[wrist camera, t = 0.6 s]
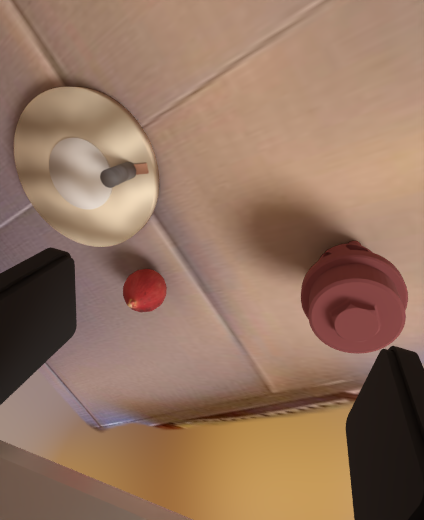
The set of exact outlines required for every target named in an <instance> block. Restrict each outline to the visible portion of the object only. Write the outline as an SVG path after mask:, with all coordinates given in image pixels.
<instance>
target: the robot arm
mask: <svg viewBox="0 0 424 520" xmlns="http://www.w3.org/2000/svg"><path fill="white" fill-rule="evenodd" d="M75 330H76V295H75V265H74V260H73V259H72V258H71V256H70V254H69V253H68V252H65V251H62V250H58V249H55V248H47V249H45V250H44V251H42V252H40V253H38V254H36V255H34V256H32V257H30V258H29V259H27V260H25V261H23V262H21V263H19V264H17V265H16V266H14V267H12V268H10V269H8V270H6V271H4V272H2V273H1V274H0V405H1V404H2V403H3V402H4V401H5V400H6V399H7V398H8V397H9V396H10V395H11V394H12V393H13V392H14V391H16V390H17V389H18V388H19V387H20V386H21V385H22V384H23V383H24V382H25V381H26V380H27V379H28V378H29V377H30V376H31V375H32V374H33V373H34V372H35V371H37V370H38V369H39V368H40V367H41V366H42V365H43V364H44V363H45V362H46V361H47V360H48V359H49V358H50V357H51V356H52V355H53V354H54V353H55V352H56V351H58V350H59V349H60V348H61V347H62V346H63V345H64V344H65V343H66V342H67V341H68V340H69V339H70V338H71V337H72V336H73V334H74V333H75ZM346 436H347V446H348V457H349V467H350V477H351V488H352V498H353V508H354V518H355V520H424V368H423V366H422V363H421V361H420V359H419V356H418V354H417V353H415V352H413V351H409V350H406V349H402V348H399V347H395V346H391V347H390V348H389V349H388V350H386V349H382V350H381V351H380V353H379V355H378V357H377V359H376V361H375V363H374V365H373V367H372V369H371V371H370V373H369V375H368V377H367V379H366V381H365V383H364V385H363V387H362V389H361V391H360V393H359V395H358V397H357V399H356V401H355V403H354V405H353V407H352V409H351V411H350V413H349V415H348V417H347V421H346ZM0 520H192V519H190V518H188V517H185V516H183V515H180V514H178V513H176V512H173V511H171V510H168V509H166V508H164V507H161V506H159V505H156V504H154V503H152V502H149V501H147V500H144V499H142V498H140V497H137V496H135V495H132V494H130V493H127V492H125V491H122V490H120V489H118V488H115V487H113V486H111V485H108V484H106V483H103V482H101V481H99V480H96V479H93V478H91V477H89V476H86V475H84V474H82V473H79V472H77V471H74V470H72V469H69V468H67V467H65V466H62V465H60V464H57V463H55V462H52V461H50V460H48V459H45V458H43V457H40V456H38V455H35V454H33V453H30V452H28V451H25V450H23V449H21V448H18V447H16V446H13V445H11V444H8V443H6V442H3V441H1V440H0Z"/></svg>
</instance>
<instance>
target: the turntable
mask: <svg viewBox="0 0 424 520" xmlns="http://www.w3.org/2000/svg"><path fill="white" fill-rule="evenodd" d="M14 157H15V164H16V169H17V173H18V176H19V179H20V182H21V184H22V187H23V189H24V191H25V193H26V195H27V197H28V199H29V200H30V202H31V203H32V205H33V206H34V208H35V209H36V210H37V212H38V213H39V214H40V216H41V217H42V218H43V219H44V220H45V221H46V222H47V223H48V224H49V225H51V226H52V227H53V228H54V229H55V230H57V231H58V232H59V233H61V234H62V235H64V236H66V237H67V238H69V239H71V240H74V241H76V242H78V243H81V244H85V245H89V246H96V247H106V246H112V245H116V244H119V243H122V242H124V241H126V240H127V239H129V238H131V237H132V236H133V235H135V234H136V233H137V232H138V231H140V230H141V229H142V228H143V227H144V226H145V224H146V223H147V222H148V221H149V219H150V217H151V216H152V214H153V211H154V209H155V206H156V203H157V199H158V193H159V172H158V165H157V161H156V157H155V154H154V151H153V148H152V146H151V143H150V141H149V139H148V137H147V135H146V133H145V132H144V130H143V129H142V127H141V126H140V124H139V123H138V122H137V120H136V119H135V118H134V117H133V116H132V114H131V113H130V112H129V111H128V110H127V109H125V108H124V107H123V106H122V105H121V104H119V103H118V102H117V101H115V100H114V99H112V98H111V97H109V96H107V95H105V94H103V93H101V92H98V91H96V90H92V89H88V88H82V87H58V88H53V89H50V90H47V91H45V92H43V93H41V94H39V95H38V96H37V97H35V98H34V99H33V100H32V101H31V102H30V103H29V104H28V105H27V106H26V108H25V109H24V111H23V112H22V114H21V116H20V118H19V121H18V123H17V127H16V131H15V138H14Z"/></svg>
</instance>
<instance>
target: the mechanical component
mask: <svg viewBox="0 0 424 520" xmlns="http://www.w3.org/2000/svg"><path fill="white" fill-rule="evenodd" d="M407 302H408V292H407V288H406V285H405V282H404V280H403V278H402V276H401V274H400V272H399V271H398V270H397V268H396V267H395V266H394V265H393V264H392V263H391V262H389V261H388V260H387V259H385V258H383V257H381V256H379V255H377V254H374V253H372V252H371V251H370V250H369V249H367V248H365V247H363V246H361V244H360V243H359V242H358V241H351V242H349V243H348V244H341V245H337V246H334V247H332V248H330V249H329V250H327V251H326V252H325V253H324V254H323V255H322V256H321V257H320V259H319V261H318V262H316V263H315V264H314V265H313V266H312V267H311V268H310V269H309V271H308V272H307V274H306V275H305V278H304V280H303V283H302V290H301V303H302V308H303V310H304V312H305V314H306V316H307V318H308V319H309V323H310V326H311V328H312V330H313V332H314V333H315V335H316V336H317V337H318V338H319V339H320V340H321V341H322V342H324V343H325V344H326V345H328V346H330V347H332V348H334V349H336V350H339V351H343V352H348V353H368V352H373V351H376V350H379V349H381V348H384V347H386V346H387V345H389V344H390V343H392V342H393V341H394V340H395V339H396V338H397V337H398V336H399V335H400V333H401V331H402V330H403V327H404V324H405V318H406V315H405V310H406V307H407Z"/></svg>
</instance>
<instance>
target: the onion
mask: <svg viewBox="0 0 424 520" xmlns="http://www.w3.org/2000/svg"><path fill="white" fill-rule="evenodd" d="M123 296H124V299H125V302H126V303H127V305H128V306H129V307H130V308H131V309H132V310H135V311H138V312H149V311H152V310H154V309H156V308H157V307H159V306H160V305H161V304H162V303H163V301H164V299H165V296H166V284H165V281H164V279H163V277H162V276H161V275H160V274H159V273H157V272H156V271H154V270H151V269H141V270H137V271H136V272H134V273H132V274H131V275H129V277H128V278H127V280H126V282H125V284H124V286H123Z"/></svg>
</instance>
